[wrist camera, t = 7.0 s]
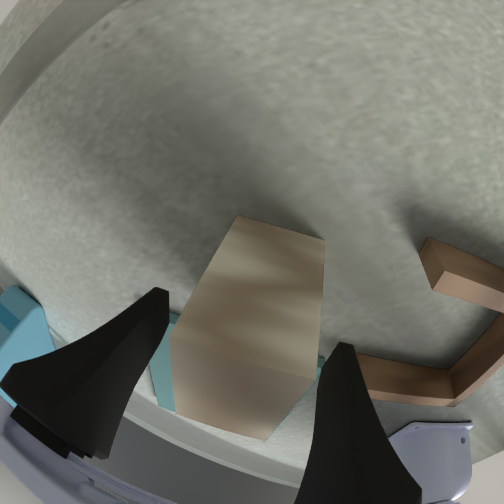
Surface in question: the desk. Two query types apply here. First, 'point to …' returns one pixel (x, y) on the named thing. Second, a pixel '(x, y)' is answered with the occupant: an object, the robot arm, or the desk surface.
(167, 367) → the slate-teal mat
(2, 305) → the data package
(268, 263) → the ash blank
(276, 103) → the desk surface
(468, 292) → the frame
